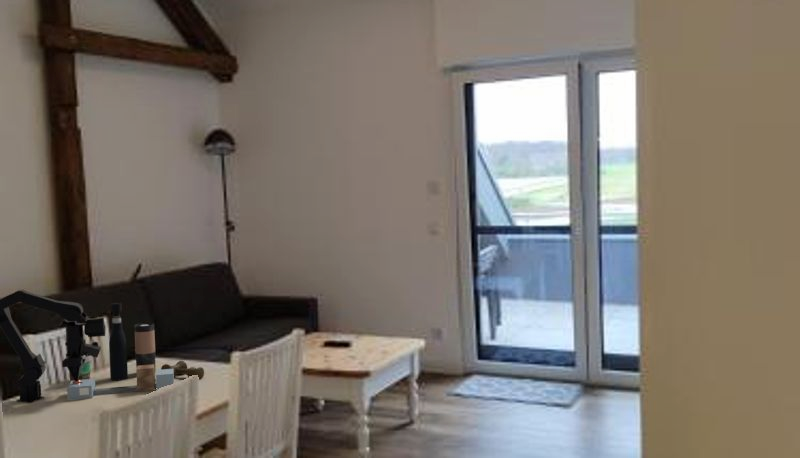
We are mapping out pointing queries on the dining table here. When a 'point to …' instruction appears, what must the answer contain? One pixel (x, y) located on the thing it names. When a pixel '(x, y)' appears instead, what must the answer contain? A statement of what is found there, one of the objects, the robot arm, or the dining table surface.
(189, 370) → the kendama
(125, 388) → the rail
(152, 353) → the travel mug
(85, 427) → the dining table surface
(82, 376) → the food container
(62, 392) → the dining table surface
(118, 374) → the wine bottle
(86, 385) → the cabinet
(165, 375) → the end block
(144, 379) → the block
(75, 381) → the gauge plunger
